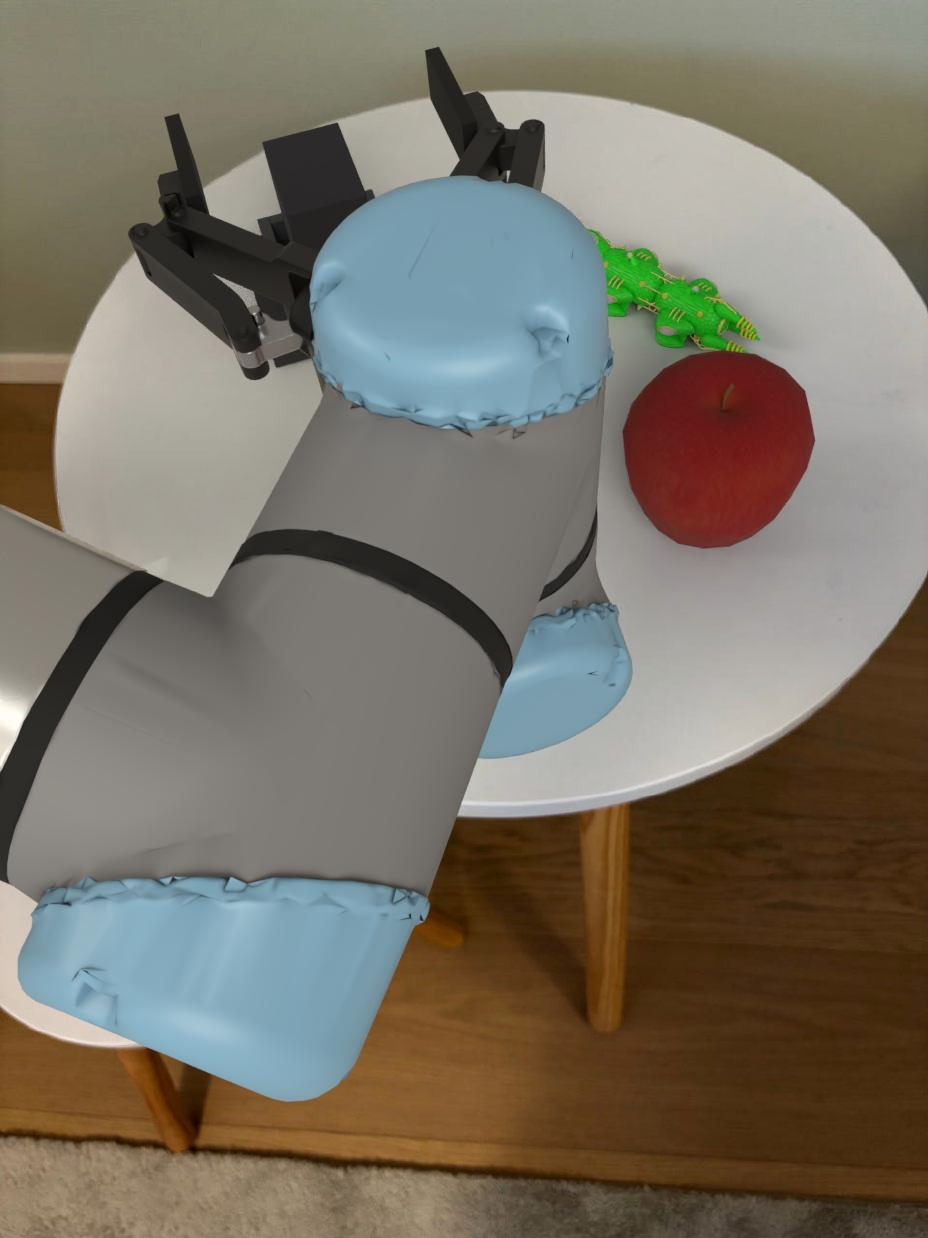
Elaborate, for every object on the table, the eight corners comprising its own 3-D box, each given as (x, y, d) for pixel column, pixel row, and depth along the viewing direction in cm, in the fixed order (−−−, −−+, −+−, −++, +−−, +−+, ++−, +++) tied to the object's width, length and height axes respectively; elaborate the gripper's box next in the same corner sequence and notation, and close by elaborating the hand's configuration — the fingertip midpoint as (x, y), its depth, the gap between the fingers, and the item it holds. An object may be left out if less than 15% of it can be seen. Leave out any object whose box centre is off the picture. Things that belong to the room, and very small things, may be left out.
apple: (727, 425, 76) (757, 285, 65) (823, 539, 71) (876, 408, 59) (585, 490, 74) (590, 358, 63) (673, 613, 69) (697, 493, 57)
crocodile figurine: (590, 241, 87) (592, 197, 83) (774, 336, 80) (785, 293, 77) (540, 285, 85) (540, 243, 81) (725, 387, 78) (734, 346, 74)
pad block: (314, 319, 83) (286, 215, 74) (290, 247, 87) (261, 141, 79) (386, 299, 83) (366, 194, 75) (359, 228, 88) (337, 121, 79)
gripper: (155, 536, 45) (98, 228, 56) (690, 381, 47) (538, 112, 58) (88, 423, 39) (38, 98, 49) (712, 249, 41) (536, -28, 51)
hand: (308, 105), depth 53 cm, fingers open, 13 cm apart
